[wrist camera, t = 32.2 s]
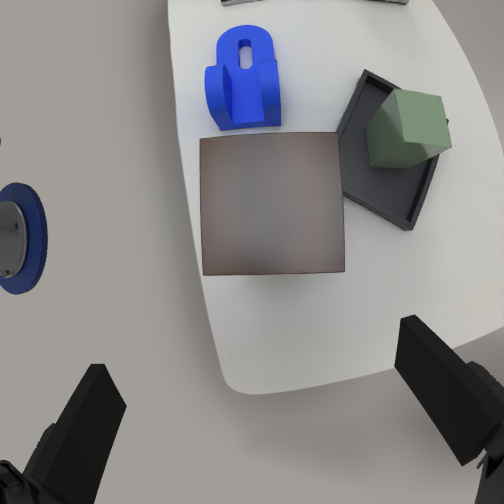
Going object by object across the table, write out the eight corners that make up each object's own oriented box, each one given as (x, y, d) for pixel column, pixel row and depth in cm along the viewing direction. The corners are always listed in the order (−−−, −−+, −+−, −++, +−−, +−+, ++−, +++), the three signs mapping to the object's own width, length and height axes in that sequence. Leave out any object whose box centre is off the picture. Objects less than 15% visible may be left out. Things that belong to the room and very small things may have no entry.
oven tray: (313, 180, 37) (315, 176, 34) (360, 77, 35) (364, 68, 32) (404, 230, 36) (412, 230, 33) (441, 125, 34) (449, 120, 31)
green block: (369, 167, 35) (404, 141, 23) (364, 126, 35) (394, 88, 23) (408, 169, 35) (452, 147, 23) (402, 129, 34) (441, 96, 22)
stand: (242, 253, 38) (202, 275, 18) (240, 185, 38) (199, 138, 18) (311, 251, 37) (345, 272, 17) (309, 183, 37) (337, 132, 17)
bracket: (280, 125, 37) (280, 96, 28) (220, 130, 37) (204, 104, 28) (270, 30, 35) (267, -6, 27) (219, 35, 36) (207, 1, 27)
